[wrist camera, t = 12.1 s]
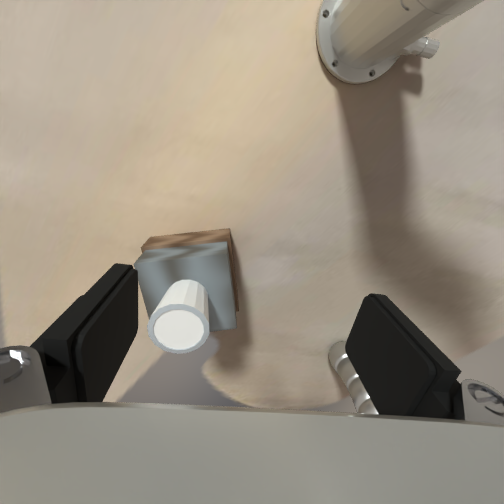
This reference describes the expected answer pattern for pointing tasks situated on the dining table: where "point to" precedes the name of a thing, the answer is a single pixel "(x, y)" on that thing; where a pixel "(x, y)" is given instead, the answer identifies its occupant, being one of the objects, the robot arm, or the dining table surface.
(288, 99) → the dining table surface
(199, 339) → the white grey-rimmed cylinder
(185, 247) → the grey and wood block
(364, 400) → the plastic bottle
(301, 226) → the dining table surface
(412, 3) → the robot arm
